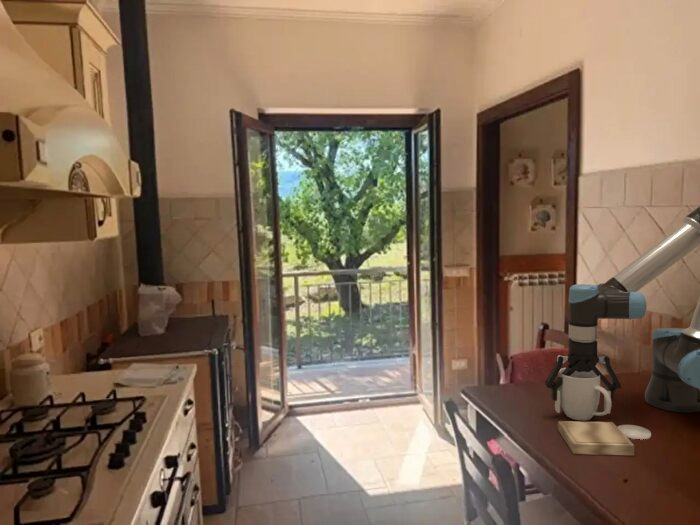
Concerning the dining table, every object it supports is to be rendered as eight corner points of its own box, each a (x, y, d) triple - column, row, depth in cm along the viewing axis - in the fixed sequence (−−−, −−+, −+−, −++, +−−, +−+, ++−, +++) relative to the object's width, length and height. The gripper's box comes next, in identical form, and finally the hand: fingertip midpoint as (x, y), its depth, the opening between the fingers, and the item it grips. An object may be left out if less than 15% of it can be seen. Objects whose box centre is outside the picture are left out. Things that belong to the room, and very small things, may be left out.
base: (612, 431, 138) (612, 421, 138) (634, 455, 125) (634, 444, 124) (558, 430, 140) (558, 420, 140) (573, 453, 126) (573, 443, 126)
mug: (621, 422, 144) (621, 376, 143) (598, 432, 138) (599, 385, 137) (572, 406, 156) (572, 364, 155) (550, 415, 150) (550, 371, 149)
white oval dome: (642, 428, 140) (642, 424, 140) (656, 441, 132) (656, 437, 132) (611, 428, 141) (611, 424, 141) (623, 440, 133) (624, 437, 133)
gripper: (624, 335, 148) (623, 407, 150) (534, 336, 151) (534, 405, 153) (635, 342, 140) (633, 417, 142) (540, 342, 144) (540, 415, 146)
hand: (582, 411), depth 148 cm, fingers open, 13 cm apart
